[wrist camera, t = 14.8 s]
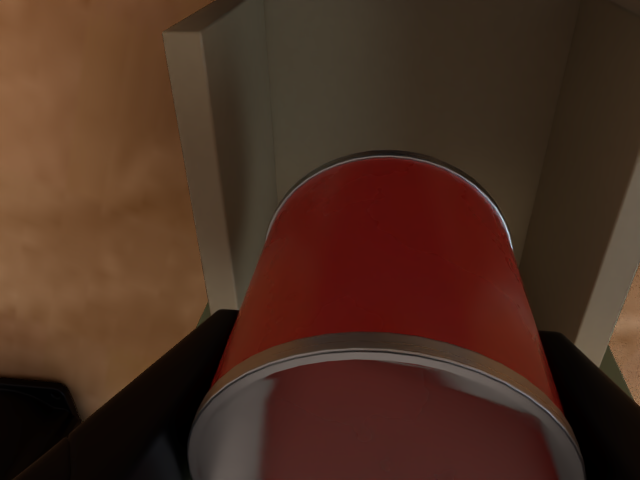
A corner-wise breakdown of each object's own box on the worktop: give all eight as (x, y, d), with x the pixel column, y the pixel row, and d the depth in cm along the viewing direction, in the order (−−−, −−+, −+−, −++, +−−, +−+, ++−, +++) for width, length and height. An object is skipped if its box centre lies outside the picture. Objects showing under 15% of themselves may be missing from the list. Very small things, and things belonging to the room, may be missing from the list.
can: (257, 144, 10) (151, 333, 6) (534, 153, 10) (646, 370, 5) (274, 340, 13) (212, 564, 9) (489, 356, 12) (538, 605, 8)
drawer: (174, -449, 11) (-57, -801, 5) (764, -507, 10) (1256, -1041, 4) (257, 316, 23) (210, 456, 17) (532, 335, 21) (580, 493, 16)
